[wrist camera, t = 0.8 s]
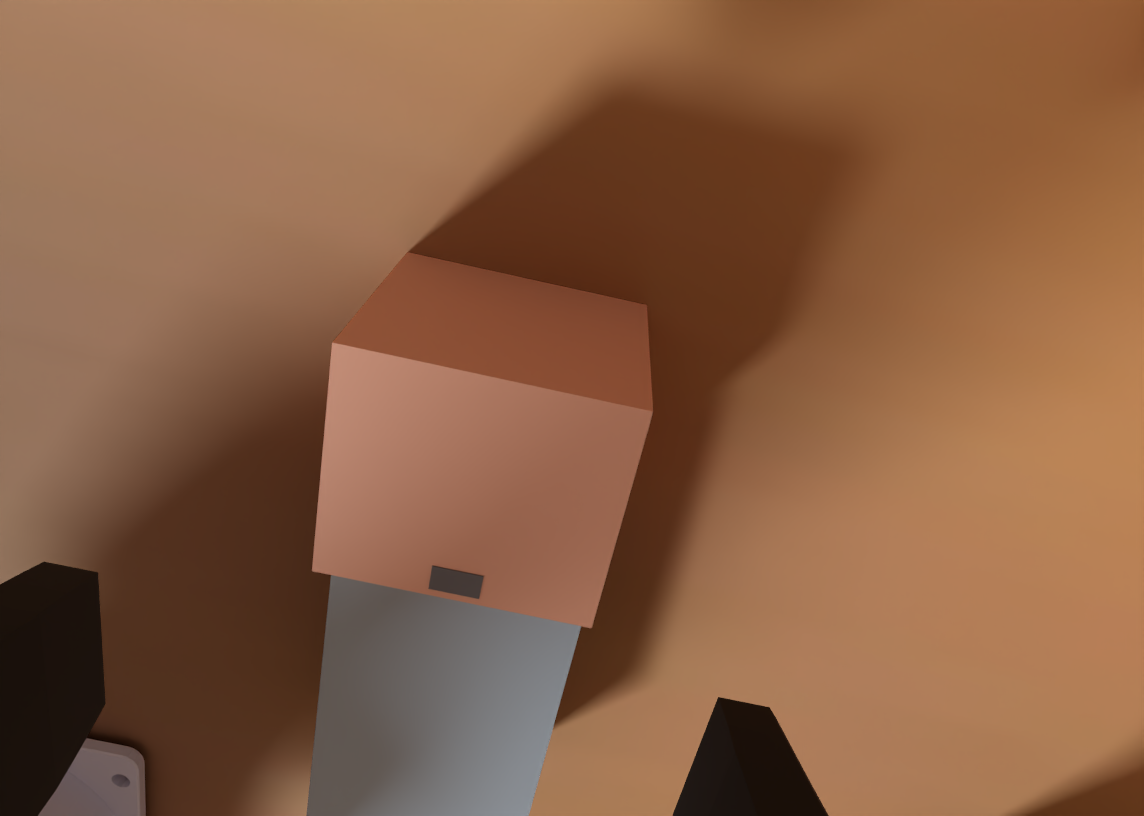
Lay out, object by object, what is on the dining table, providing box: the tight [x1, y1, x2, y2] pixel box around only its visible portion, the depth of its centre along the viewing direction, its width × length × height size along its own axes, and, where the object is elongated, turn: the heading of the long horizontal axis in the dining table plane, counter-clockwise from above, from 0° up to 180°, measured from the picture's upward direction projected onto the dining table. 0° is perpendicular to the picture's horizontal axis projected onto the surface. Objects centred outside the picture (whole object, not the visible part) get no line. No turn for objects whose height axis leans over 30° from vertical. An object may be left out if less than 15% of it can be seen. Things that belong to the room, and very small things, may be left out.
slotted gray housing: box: [307, 575, 581, 816], centre depth 20 cm, size 8×5×4 cm, turn 168°
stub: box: [312, 252, 653, 628], centre depth 16 cm, size 4×5×5 cm
